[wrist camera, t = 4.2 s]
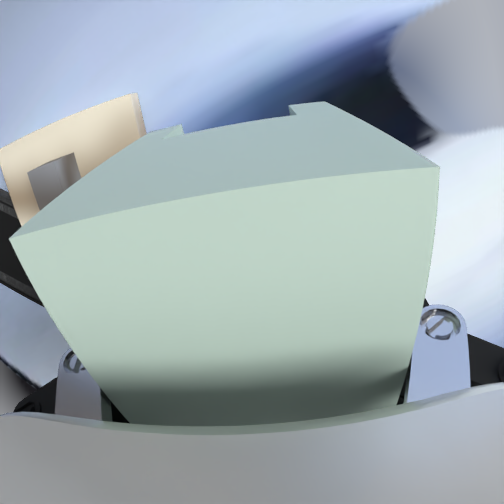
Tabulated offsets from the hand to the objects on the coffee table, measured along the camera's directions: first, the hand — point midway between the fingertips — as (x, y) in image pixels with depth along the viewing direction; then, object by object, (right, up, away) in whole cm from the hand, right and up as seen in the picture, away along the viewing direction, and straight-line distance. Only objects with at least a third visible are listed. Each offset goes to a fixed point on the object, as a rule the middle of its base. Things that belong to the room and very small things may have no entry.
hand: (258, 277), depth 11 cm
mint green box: (0, +1, +2) cm, 2 cm away
